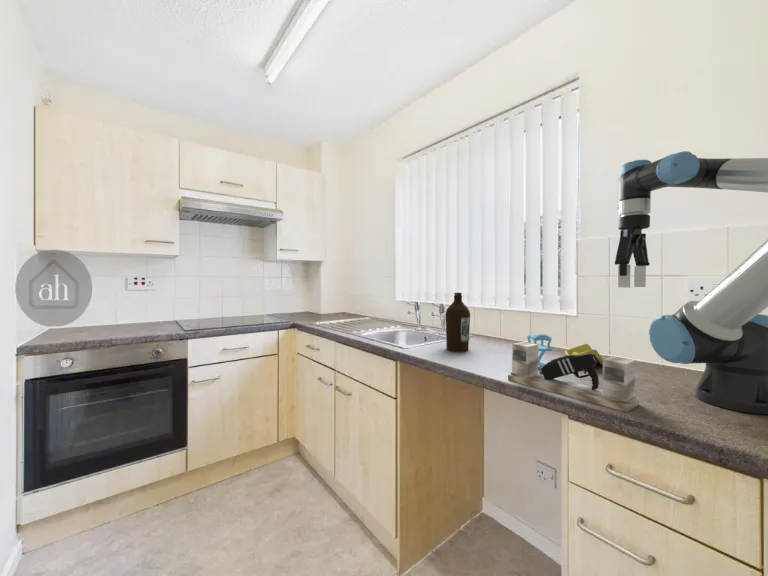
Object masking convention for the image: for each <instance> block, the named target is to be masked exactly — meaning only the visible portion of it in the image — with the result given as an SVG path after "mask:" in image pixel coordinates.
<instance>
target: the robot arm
mask: <svg viewBox="0 0 768 576" xmlns="http://www.w3.org/2000/svg"><path fill="white" fill-rule="evenodd" d="M619 169H620V170H619V178H618V182H619V183H618V184H619V185H618V188H619V189H618V204H619V205H618V206H617V207H616V208H617V209H616V210H618V216H619V217H618V223H617V224H618V228H617V229H618V230H619V231H620V233H619V235H620V236H619V242H618V246H617V251H616V256H615V260H614V264H615V265H617V266H618V269H617V270H618V271H617V272H618V276H617V287H618V288H631V264H630V262H631V259H632V257H633V258H634V262H635V266H634V276H633V280H634V281H633V287H634V288H646V285H647V283H646V281H647V280H646V279H647V278H646V275H647V274H646V273H647V266H650V261H649V255H648V248H647V241H646V240H647V234H646V233H642V230H644V229H645V230H646V229H649V228H650V227H651V216H650V213H651V193H652V192H654V191H656V190H659V189H663V188H689V189H691V188H693V189H696V188H697V189H710V190H726V191H727V190H730V191H741V192H742V191H743V192H757V193H760V192H761V193H768V157H757V158H756V157H753V158H751V157H747V158H744V157H742V158H706V157H705V158H704V157H703V158H702V157H697V155H696V154H693V153H692V152H690V151H679V152H676V153H672V154H669V155H666V156H664V157H663V158H661V159H658V160H655V161H653V162H652V161H651V160H649V159H636V160H633V161H628V162H625V163H624V164H623V165H622V166H621V167H620V168H619ZM632 255H633V256H632ZM767 308H768V239H767V240H765V241H764V242H763V243H762V244H761V245H760V246H759V247H757V249H755V250H754V252H752V253H751V254H750V255H748V257H747V258H746V259H745V260H743V261H742V262H741V263H740V264H739V265H737V266H736V267H735V269H734V270H732V271H730V273H729V274H728V275H727V276H725V277H724V278H723V279H722V281H720V282H719V283H718V284H717V285H716V286H715V287H714V288H712V289H711V290H710V291H709V292H708V293H707V294H706V295H705V296H704V297H702V299H700V300H690V301H687V302H686V303H684V304H683V305H682V306H681V307H680V308H679V309H678V310H677V311H676V312H675V313H673V314H672V315H671V314H664V315H661V316H657V317H656V318H654V319H653V320H652V322H651V323H650V326H649V329H648V335H649V342H650V345H651V347H652V348H653V350H654V352H655V353H656V355H658V356H659V357H660V358H662V359H663V360H665V361H666V362H669V363H672V364H680V365H681V364H682V365H690V364H705V368H704V371H703V373H702V375H701V377H700V379H699V381H698V383H697V385H696V387H695V397H696V398H698V400H700V401H702V402H705V403H708V404H710V405H713V406H717V407H720V408H723V409H728V410H732V411H737V412H741V413H742V412H743V413H749V414H756V415H766V416H767V415H768V315H767V314H762V312H763V311H764V310H766V309H767ZM760 313H761V314H760Z"/></svg>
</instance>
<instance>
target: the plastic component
mask: <svg viewBox="0 0 768 576" xmlns="http://www.w3.org/2000/svg"><path fill="white" fill-rule="evenodd" d="M564 353H565V356H566V355H581V356H582V355H586V354H593V355H595V357H596V359H597V363H599V364H600V365H603V358H602V356H601V354H600V353H599V351H598V350H597V349H594V348H593V349H592V347H591V346H590V345H589V344H587V343H582V344H581V345H577V346H575V347H572V348H569V349H567V350H565V351H564Z"/></svg>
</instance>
